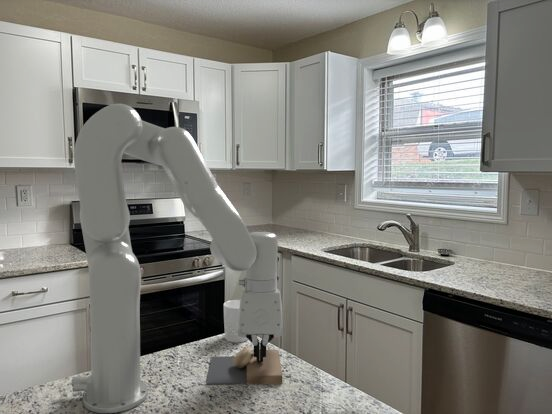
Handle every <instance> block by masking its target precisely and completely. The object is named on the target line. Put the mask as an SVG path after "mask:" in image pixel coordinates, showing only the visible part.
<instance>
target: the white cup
mask: <svg viewBox="0 0 552 414" xmlns="http://www.w3.org/2000/svg"><path fill="white" fill-rule="evenodd" d="M239 308H240V299H232V300H228V301H225V302H224V303H223V324H224V325H223V326H224V336H225V337H224V339H225V340H226V342H231V343H243V342H246V341H249V340H248V339H247V338H245V337H240V336H238V329H239Z"/></svg>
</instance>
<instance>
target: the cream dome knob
mask: <svg viewBox="0 0 552 414" xmlns="http://www.w3.org/2000/svg"><path fill="white" fill-rule="evenodd" d="M251 350H252V349H250V348H249V347H247V346H246V347H243V348H242V349H241V350H240V351H238V352H237V353H236V355H235V357H234V359H233V361H232V362H233V364H234V365H235V366H236V367H237V368H238V369H241V368H243V367H244V366H246V365H247V364H248V363H249V362H250V360H251V359H252V358H253V355H254V354H253V352H252V351H251Z"/></svg>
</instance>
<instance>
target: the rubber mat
mask: <svg viewBox="0 0 552 414" xmlns="http://www.w3.org/2000/svg"><path fill="white" fill-rule="evenodd" d="M235 356H236V355H235ZM235 356H211V357H210V358H211V359H210V362H209V363H210V364H209V369H208V373H207V377H206V382H205V385H206V386H210V385H212V386H213V385H215V386H216V385H218V386H221V385H222V386H225V385H226V386H228V385H248V384H247V365H246V366H244V367H243V368H241V369H238V368H237V367H236V366H235V365H234V364H233V362H232V361H233V359H234V357H235Z"/></svg>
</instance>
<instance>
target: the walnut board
mask: <svg viewBox="0 0 552 414" xmlns="http://www.w3.org/2000/svg"><path fill="white" fill-rule="evenodd" d="M250 350H251V351H252V352H253V354H254V349H250ZM246 385H283V369H282V363H281V358H280V351H279V349H266V357H263V362H260V359H259V362H256V357H254V355H253V358H252V359H251V360H250V362H249V363H248V364H247V384H246Z"/></svg>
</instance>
